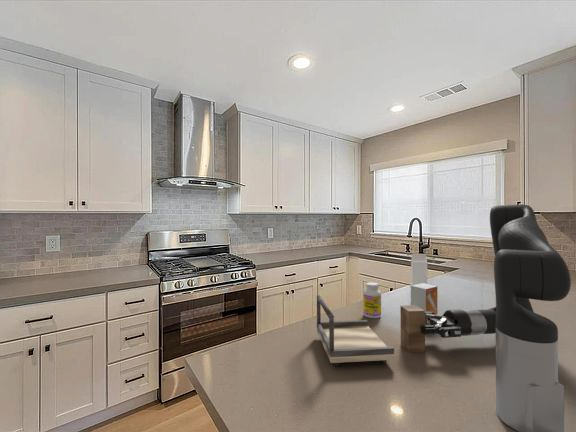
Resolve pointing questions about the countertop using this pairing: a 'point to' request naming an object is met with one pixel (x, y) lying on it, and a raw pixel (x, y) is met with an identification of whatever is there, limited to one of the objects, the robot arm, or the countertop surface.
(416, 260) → the milk
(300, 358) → the countertop surface
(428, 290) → the small box
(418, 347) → the walnut block
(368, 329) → the cart
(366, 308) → the supplement bottle
